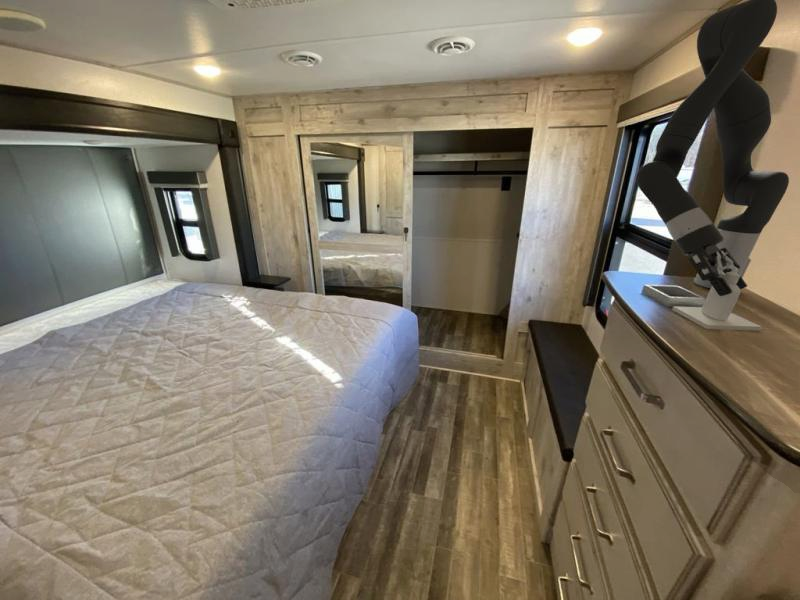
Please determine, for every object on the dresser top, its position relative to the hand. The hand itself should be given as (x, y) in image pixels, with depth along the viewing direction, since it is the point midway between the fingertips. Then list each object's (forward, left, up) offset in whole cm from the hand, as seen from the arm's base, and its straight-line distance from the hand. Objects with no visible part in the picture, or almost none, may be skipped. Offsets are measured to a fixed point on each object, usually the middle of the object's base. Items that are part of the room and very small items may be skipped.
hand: (734, 291), depth 72 cm
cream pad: (+1, -1, -8) cm, 8 cm away
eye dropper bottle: (+1, -1, -7) cm, 7 cm away
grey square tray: (+2, -13, -8) cm, 15 cm away
